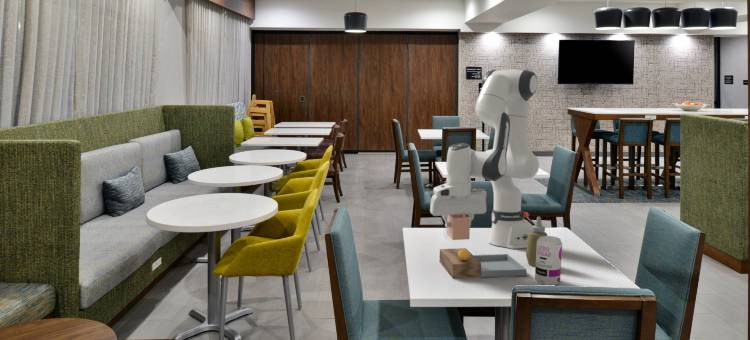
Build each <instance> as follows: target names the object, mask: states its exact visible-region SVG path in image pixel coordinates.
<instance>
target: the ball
mask: <svg viewBox="0 0 750 340" xmlns="http://www.w3.org/2000/svg"><path fill="white" fill-rule="evenodd" d="M466 249H467V248H466ZM466 249H461V250H460V251H459V253H458V256H459V258H460V259H461V260H467V259H468V258H469V257H470V253H471V252H470V251H469V250H468V249H467V250H466ZM469 252H470V253H469Z"/></svg>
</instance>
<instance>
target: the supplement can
mask: <svg viewBox="0 0 750 340" xmlns="http://www.w3.org/2000/svg"><path fill="white" fill-rule="evenodd" d="M562 256H563V243H562V240H561V238H559V237H557V236H550V235H547V236H541V237H539V239H538V241H537V249H536V266H535V271H534V272H535V273H534V280H535V281H536V282H537V283H538V284H540V283H541V285H543V286H544V285H545V286H556V285H558V284H559V283H560V282H561V272H562Z"/></svg>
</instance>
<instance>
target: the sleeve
mask: <svg viewBox="0 0 750 340" xmlns="http://www.w3.org/2000/svg"><path fill="white" fill-rule="evenodd" d="M446 219H447V221H449V222H450V227H446V235H447V236H448V237H449V238H450V239H451V241H457V240H458V241H459V240H470V231H471V230H470V229H471V226H470V216H469V215H448V218H446Z"/></svg>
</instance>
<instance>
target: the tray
mask: <svg viewBox="0 0 750 340" xmlns="http://www.w3.org/2000/svg"><path fill="white" fill-rule="evenodd" d="M472 255H473V256H474V257H475V258H476V259H477V260H478V261H480V262H481V277H480V278H481V279H493V278H494V279H495V278H497V279H498V278H518V277H519V278H520V277H521V276H522V277H527V268H525V267H524V266H523V265H522V264H521V263H520V262H518V261H517V260H516V259H514V258H513V257H512V256H510V255H509V253H499V254H495V253H494V254H472Z"/></svg>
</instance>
